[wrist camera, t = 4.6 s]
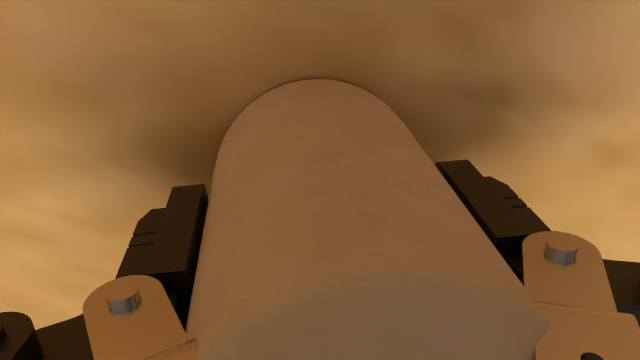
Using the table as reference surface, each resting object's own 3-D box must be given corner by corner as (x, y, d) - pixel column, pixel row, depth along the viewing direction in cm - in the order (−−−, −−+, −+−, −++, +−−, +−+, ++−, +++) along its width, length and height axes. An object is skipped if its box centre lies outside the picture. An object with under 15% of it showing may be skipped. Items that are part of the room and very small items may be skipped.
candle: (367, 273, 16) (499, 695, 7) (192, 228, 15) (95, 679, 6) (445, 113, 14) (761, 433, 5) (250, 45, 13) (235, 317, 4)
